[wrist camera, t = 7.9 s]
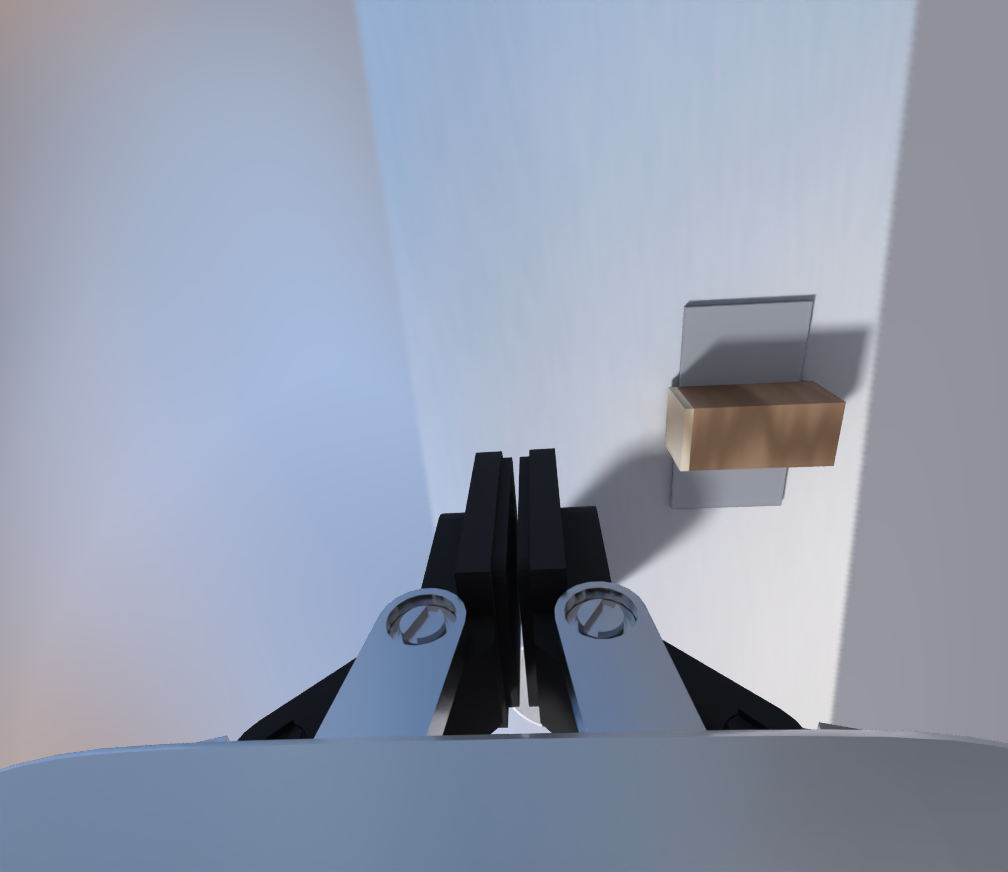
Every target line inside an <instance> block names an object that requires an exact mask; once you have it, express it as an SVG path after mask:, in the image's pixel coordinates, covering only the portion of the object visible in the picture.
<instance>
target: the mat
mask: <svg viewBox="0 0 1008 872" xmlns="http://www.w3.org/2000/svg"><path fill="white" fill-rule="evenodd" d="M812 304H813V301H810V300H809V301H788V302H768V303H748V304H728V305H707V306H687V307H684V317H683V332H682V346H681V361H680V375H679V387H685V386H709V385H732V384H755V383H779V382H800V381H801V375H802V369H803V362H804V356H805V349H806V343H807V336H808V330H809V324H810V317H811V311H812ZM786 471H787V467H786V468H758V469H730V470H702V471H680V470H679V468H678V466H677V464H676V463H675V461H674V462H673V477H672V491H671V508H672V509H691V508H722V507H752V506H781V503H782V497H783V490H784V484H785V478H786Z"/></svg>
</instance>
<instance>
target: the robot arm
mask: <svg viewBox="0 0 1008 872" xmlns="http://www.w3.org/2000/svg"><path fill="white" fill-rule="evenodd" d="M521 626H522V637H523V648H524V659H525V670H526V681H527V692H528V703H529V707H539V713H540V723H541V724H542V727H546V728H547V729H548V730H549V731H550V732H552V733H536V734H491V733H493V732H494V731H495V730H496V729H497V728H508V711H509V707H519V706H520V658H521ZM0 872H1008V743H1004V742H998V741H992V740H987V739H981V738H975V737H970V736H960V735H949V734H940V733H930V732H919V731H876V730H875V731H873V730H860V729H855V728H848V727H843V726H837V725H832V724H826V723H820V722H819V724H818V729H817V730H811V729H805V728H802V727H801V726H800V724H799V723H798V722H797V721H796V720H795V719H793V718H792V717H791V716H789V715H788V714H787V713H785V712H784V711H783V710H781V709H780V708H778V707H776V706H775V705H773V704H771V703H769V702H768V701H766V700H764V699H763V698H761V697H759V696H758V695H756V694H754V693H752V692H751V691H749V690H747V689H746V688H744V687H742V686H740V685H739V684H737V683H735V682H734V681H732V680H730V679H729V678H727V677H725V676H723V675H722V674H720V673H718V672H717V671H715V670H713V669H711V668H710V667H708V666H706V665H705V664H703V663H701V662H700V661H698V660H696V659H694V658H693V657H691V656H689V655H688V654H686V653H684V652H683V651H681V650H679V649H677V648H676V647H674V646H672V645H671V644H669V643H667V642H665V641H664V640H662V638H661V636H660V634H659V632H658V630H657V628H656V626H655V624H654V622H653V620H652V618H651V616H650V614H649V612H648V610H647V608H646V606H645V604H644V603H643V602H642V600H641V599H640V597H639V596H638V595H636V594H635V593H634V592H632V591H631V590H629V589H628V588H625V587H623V586H620V585H618V584H614V583H611V578H610V573H609V568H608V563H607V558H606V553H605V548H604V543H603V538H602V533H601V528H600V523H599V518H598V513H597V509H596V506H587V507H567V508H560V498H559V488H558V477H557V467H556V456H555V448H552V449H534V450H529V456H528V457H520V464H519V500H518V519H517V507H516V495H515V484H514V472H513V461H512V457H510V458H503V455H502V451H499V452H481V453H476V455H475V461H474V466H473V472H472V477H471V483H470V488H469V494H468V500H467V505H466V511H465V513H445V514H441V515H440V517H439V520H438V524H437V528H436V532H435V536H434V540H433V544H432V548H431V552H430V555H429V560H428V563H427V567H426V572H425V575H424V580H423V583H422V587H421V589H419V590H415V591H411V592H408V593H405V594H403V595H401V596H399V597H397V598H396V599H394V600H393V601H392V602H391V603H389V604H388V605H387V606H386V607H385V608H384V610H383V611H382V612H381V614H380V615H379V617H378V619H377V621H376V623H375V624H374V626H373V628H372V630H371V632H370V634H369V636H368V637H367V639H366V641H365V643H364V645H363V647H362V649H361V651H360V652H359V654H358V656H357V658H355V659H354V660H352V661H350V662H349V663H347V664H346V665H344V666H343V667H341V668H340V669H338V670H337V671H335V672H334V673H332V674H330V675H329V676H327V677H326V678H325V679H323V680H321V681H320V682H318V683H317V684H315V685H314V686H312V687H310V688H309V689H307V690H306V691H304V692H303V693H301V694H300V695H298V696H297V697H295V698H294V699H292V700H291V701H289V702H288V703H286V704H284V705H283V706H281V707H280V708H278V709H277V710H275V711H274V712H272V713H271V714H269V715H267V716H266V717H264V718H263V719H261V720H260V721H258V722H257V723H256V724H254V725H253V726H252V727H251V728H249V729H248V730H247V731H246V732H244V734H243V735H242V736H241V737H240V738H239V739H238V741H229V739H228V736H223V737H218V738H214V739H210V740H205V741H201V742H196V743H177V744H159V745H145V746H130V747H115V748H102V749H94V750H88V751H80V752H73V753H66V754H59V755H54V756H50V757H46V758H42V759H37V760H33V761H29V762H25V763H20V764H16V765H12V766H9V767H7V768H4V769H1V770H0Z"/></svg>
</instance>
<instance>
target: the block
mask: <svg viewBox="0 0 1008 872" xmlns="http://www.w3.org/2000/svg"><path fill="white" fill-rule="evenodd" d="M845 404H846V402H844V401H843V400H841V399H840V398H838V397H837V396H835V395H833V394H832V393H830V392H829V391H827V390H826V389H824V388H822V387H821V386H819V385H818V384H816V383H815V382H813V381H802V382H779V383H755V384H732V385H709V386H685V387H668V402H667V418H666V434H665V445H666V447H667V449H668V451H669V452H670V454H671V456H672V458H673V459H674V461H675V463H676V464H677V466H678V468H679V470H680V471H702V470H730V469H758V468H786V467H813V466H834V461H835V456H836V451H837V446H838V440H839V435H840V430H841V425H842V419H843V414H844V409H845Z"/></svg>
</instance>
